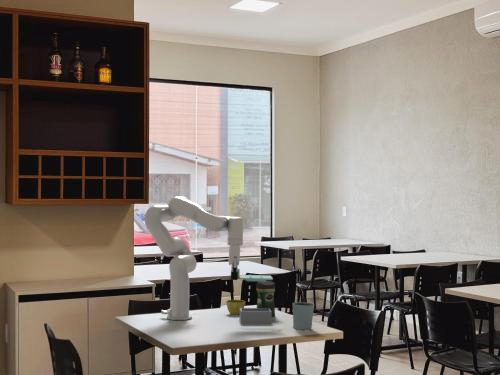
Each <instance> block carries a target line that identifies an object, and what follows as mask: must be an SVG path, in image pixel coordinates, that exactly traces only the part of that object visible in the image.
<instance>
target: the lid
mask: <svg viewBox="0 0 500 375" xmlns="http://www.w3.org/2000/svg"><path fill="white" fill-rule="evenodd" d="M230 269H231V268H230ZM240 271H241V270H240V268H238V269H237V272H238V279H239V280H245V282H266V281H273V280H274V278H273V276H271V275H265V274H264V275H261V274H259V275H256V274H253V275H252V274H248V275H247V274H240ZM231 272H232V269H231V270H230V273H231Z"/></svg>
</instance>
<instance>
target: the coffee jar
mask: <svg viewBox="0 0 500 375" xmlns="http://www.w3.org/2000/svg"><path fill="white" fill-rule="evenodd" d="M256 282H257V283H256V287H255V288H256V289H255V290H256V292H257V298H256V300H257V301H256V308H270V310H271V311H272V318H274V317H275V316H276V308H275V306H276V305H275V291H276V285H275V284H276V283H275V281H272V280H266V282H263V281H256Z"/></svg>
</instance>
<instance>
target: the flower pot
mask: <svg viewBox="0 0 500 375" xmlns="http://www.w3.org/2000/svg"><path fill="white" fill-rule="evenodd" d="M225 303H226V308H227V311H228V312H229V314H230V315H231V316H232V315H233V316H235V315H236V316H238V315H239V316H240V308H245V306H246V301H245V300H243V299H228V300H226V301H225Z"/></svg>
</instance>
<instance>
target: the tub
mask: <svg viewBox="0 0 500 375" xmlns="http://www.w3.org/2000/svg"><path fill="white" fill-rule="evenodd" d="M272 318H273V317H272V311H271V310H270V308H257V307H244V308H240V315H239V322H240V324H241V325H242V324H243V325H245V324H247V325H248V324H250V325H251V324H252V325H254V324H255V325H258V324H259V325H262V324H263V325H265V324H266V325H270V324H271V325H272Z"/></svg>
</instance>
